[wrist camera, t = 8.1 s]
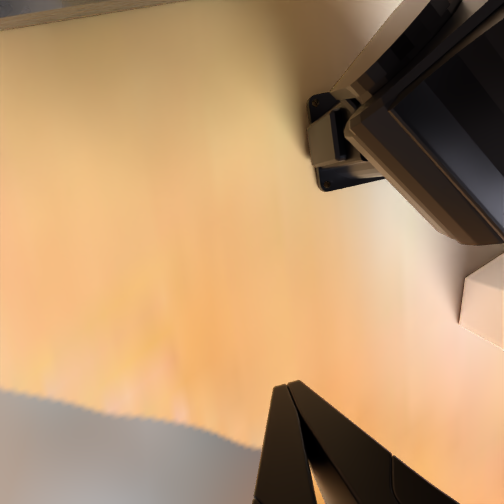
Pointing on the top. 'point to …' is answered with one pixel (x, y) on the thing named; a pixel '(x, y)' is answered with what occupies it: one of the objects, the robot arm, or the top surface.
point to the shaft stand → (63, 10)
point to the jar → (485, 302)
